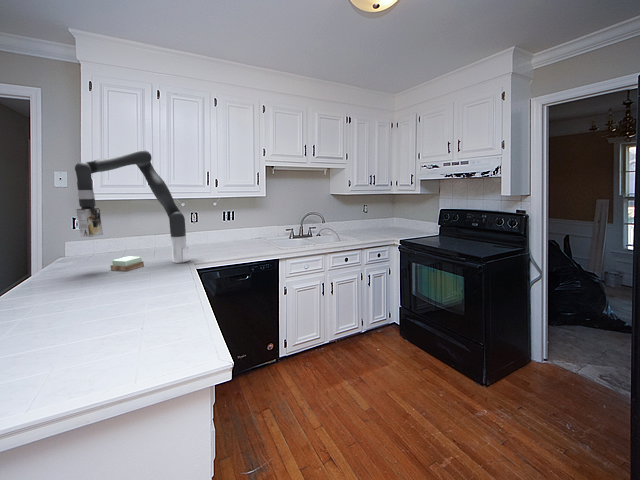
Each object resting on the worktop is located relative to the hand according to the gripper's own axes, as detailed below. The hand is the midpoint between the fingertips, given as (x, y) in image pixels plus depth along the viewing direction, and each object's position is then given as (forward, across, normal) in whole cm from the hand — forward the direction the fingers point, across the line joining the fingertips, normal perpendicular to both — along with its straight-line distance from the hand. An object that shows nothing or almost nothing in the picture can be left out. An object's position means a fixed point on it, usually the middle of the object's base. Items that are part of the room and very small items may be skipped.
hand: (90, 227), depth 186 cm
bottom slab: (+28, -11, -12) cm, 32 cm away
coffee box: (+5, 0, 0) cm, 5 cm away
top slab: (+24, -11, -12) cm, 29 cm away
